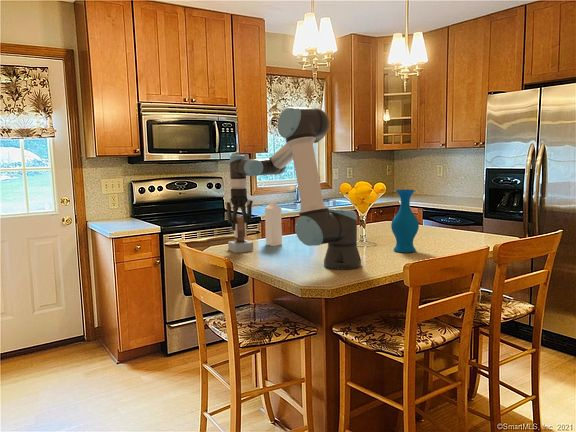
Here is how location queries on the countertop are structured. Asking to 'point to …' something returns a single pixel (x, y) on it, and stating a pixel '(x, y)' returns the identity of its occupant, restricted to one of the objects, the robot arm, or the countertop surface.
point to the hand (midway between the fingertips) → (240, 236)
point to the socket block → (240, 246)
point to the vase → (404, 224)
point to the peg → (240, 229)
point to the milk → (273, 224)
